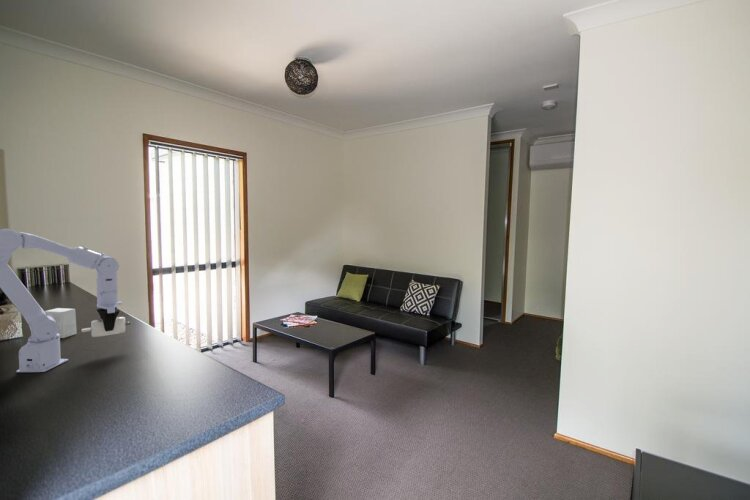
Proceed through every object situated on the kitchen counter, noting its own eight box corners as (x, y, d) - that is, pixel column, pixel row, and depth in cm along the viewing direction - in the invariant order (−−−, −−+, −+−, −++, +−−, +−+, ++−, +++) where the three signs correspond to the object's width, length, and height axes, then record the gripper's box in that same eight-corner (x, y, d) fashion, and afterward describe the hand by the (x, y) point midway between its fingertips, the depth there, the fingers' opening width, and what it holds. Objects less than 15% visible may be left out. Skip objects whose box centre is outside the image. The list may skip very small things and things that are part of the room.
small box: (77, 334, 141) (76, 308, 140) (63, 338, 135) (62, 311, 135) (59, 333, 142) (58, 307, 141) (44, 337, 136) (43, 310, 135)
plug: (129, 329, 128) (128, 315, 127) (131, 331, 125) (130, 317, 125) (81, 336, 118) (81, 322, 118) (82, 339, 116) (82, 324, 115)
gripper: (125, 292, 119) (126, 331, 119) (117, 286, 129) (118, 322, 130) (99, 295, 114) (100, 336, 115) (93, 288, 124) (94, 326, 125)
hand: (108, 329), depth 122 cm, fingers closed on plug, 3 cm apart
